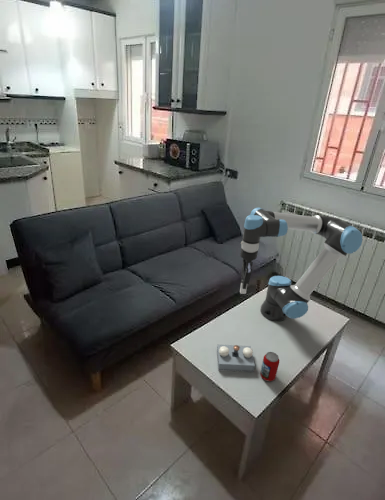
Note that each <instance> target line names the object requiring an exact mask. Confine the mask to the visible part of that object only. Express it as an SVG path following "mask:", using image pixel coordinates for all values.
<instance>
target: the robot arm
mask: <svg viewBox="0 0 385 500" xmlns="http://www.w3.org/2000/svg"><path fill="white" fill-rule="evenodd" d="M288 230H293V231H304V232H310V233H311V234H313V235H318V236H320V237H322V238H324V239H325V240H324V242H323V245H324V248H323V249H322V250H321V251H320V252H319V254H318V255H317V256H316V257H315V259H314V260H313V261H312V262H311V264H310V265H309V266H308V268H307V269H306V270H305V272H304V273H303V274H302V276H301V277H299V279H298V280H297V281H296V283H295V284H292V280H291V279H290V278H288V277H286V276H283V275H274V276H271V277H270V278H269V281H268V283H267V284H268V285H267V291H266V295H265V299H264V300H263V303H262V304H261V305H260V314H261V315H262V316H263V317H264V318H266V319H267V320H270V321H273V322H274V321H275V322H280V321H283V320H285V319H286V318H289V319H300V318H301V317H304V316H305V315H306V314H307V313H308V311H309V305H308V303H309V302H310V300H311V295H312V293H313V291H314V290H315V289H316V288H317V287H318V285H320V283H321V282H322V280H323V279H324V278H325V277H326V276H327V275H328V273H329V272H330V270H331V269H332V268H333V267H334V266H335V265H336V263H337V262H338V261H339V259H341V258H344V257H346V256H347V255H349V254H354V253H356V252H357V251H358V250H359V249H360V248H361V246H362V243H363V234H362V231H360V230H359V229H358V228H356V227H355V226H353V225H351V224H349V223H347V222H345V221H344V220H342V219H340V218H337V217H334V216H327V215H319V214H315V215H313V216H311V215H302V214H293V213H286V212H278V211H271V210H265V209H264V208H261V207H255V208H254V209H252V210H251V212H250V214H249V215H247V216H246V217H245V220H244V224H243V232H242V241H241V242H240V244H241V249H240V253H239V255H240V258H241V259H242V266H241V275H240V276H241V281H240V289H239V294H240V295H241V294H242V295H243V294H244V295H245V294H247V288H248V285H249V284H250V279H251V275H252V273H253V269H252V267H253V261H255V260H256V259H257V258H258V254H259V253H258V252H259V251H258V250H259V248H260V247H259V246H260V241H261V238H273V237H274V238H278V237H284V236H286V234H287V233H288Z"/></svg>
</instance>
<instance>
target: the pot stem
mask: <svg viewBox="0 0 385 500" xmlns="http://www.w3.org/2000/svg"><path fill="white" fill-rule="evenodd" d="M233 345H234V347H233V349H234V355H237V354H238V350H239V349H240V347H239V346H238V345H237V344H233Z"/></svg>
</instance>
